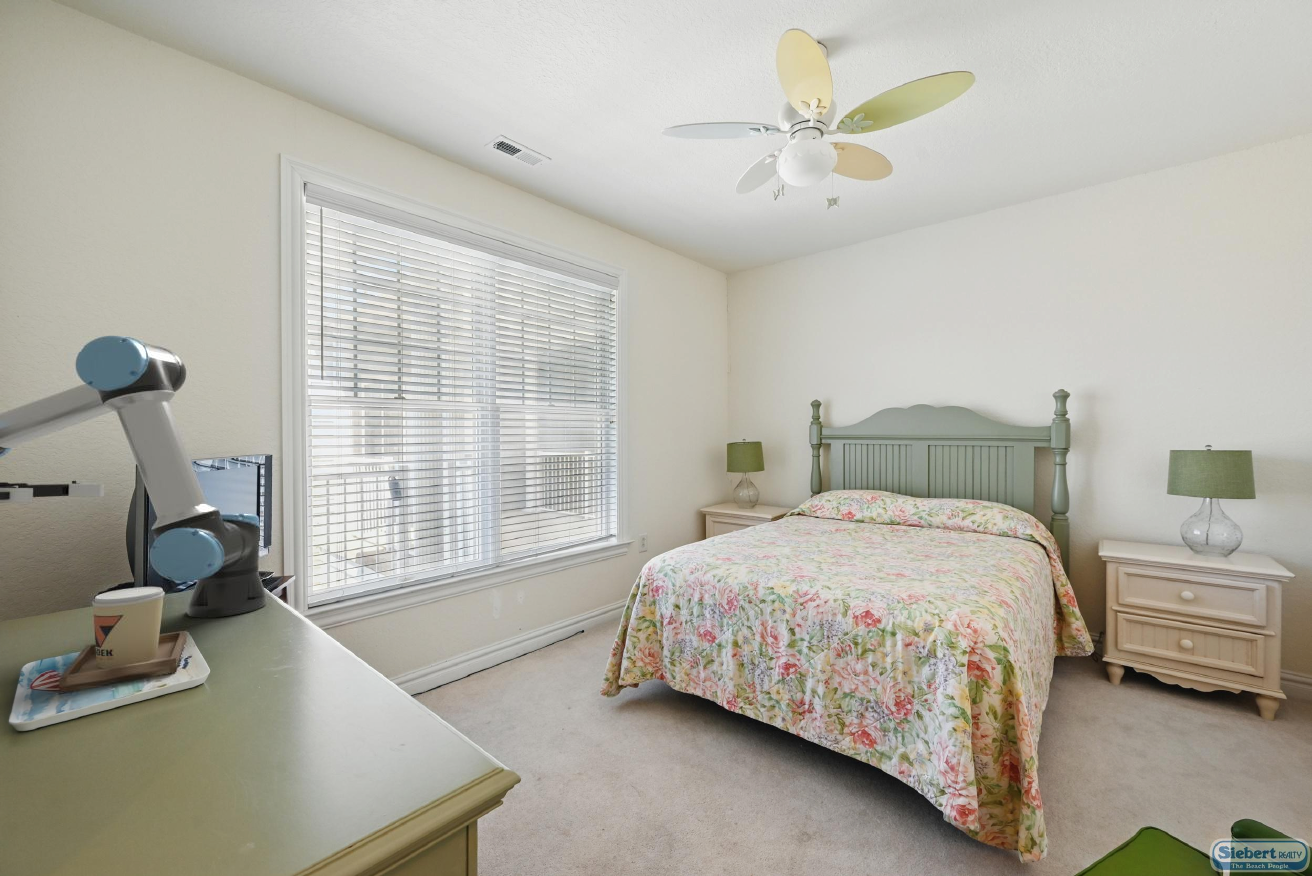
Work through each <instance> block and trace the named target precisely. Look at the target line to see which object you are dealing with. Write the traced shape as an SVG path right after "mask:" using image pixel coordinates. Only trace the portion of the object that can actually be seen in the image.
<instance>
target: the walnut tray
mask: <svg viewBox="0 0 1312 876" xmlns="http://www.w3.org/2000/svg"><path fill="white" fill-rule="evenodd" d="M185 642H186V643H187V630H181V631H175V632H167V633H161V634H160V633H159V642H158V650H157V655H156V657H154V658H153V659H151V660H149V661H146V662H142V663H136V664H130V665H124V666H118V667H112V668H106V669H104V668H99V667H98V666H97V658H96V643H92V644H86V645H85V647H84V648H83V649H82V650H81V651H80V652H79V654H78V655H77V656H76V657H75V658H74V660H73V661H72V662H71V663H70V665H69V666H68V667H67V668H66V669H65V670H64V671H63V673H62V674H61V675H60V676H59V679H58V693H59V692H65V693H71V692H76V691H81V690H82V691H83V690H87V689H88V690H89V689H93V688H97V687H98V688H99V687H104V686H108V685H114V684H120V683H126V682H132V681H137V680H143V679H149V678H154V677H153V676H155V677H157V676H156V675H160V676H163V675H162V674H166V675H168V674H167V673H171V674H176V673H177V671H178V667H179V665H180V662H181V659H182V656H183V653H184V650H185V647H184V645H185ZM185 646H186V645H185ZM183 649H184V650H183ZM182 652H183V653H182ZM181 655H182V656H181ZM180 658H181V659H180ZM179 661H180V662H179ZM178 664H179V665H178ZM175 672H176V673H175ZM148 677H149V678H148ZM70 691H71V692H70Z"/></svg>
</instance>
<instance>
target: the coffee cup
mask: <svg viewBox="0 0 1312 876" xmlns="http://www.w3.org/2000/svg"><path fill="white" fill-rule="evenodd" d="M165 593H166V592H165V591H164V590H163V588H162V587H160V586H159V587H158V586H142V587H138V586H137V587H132V588H131V587H129V588H123V589H116V590H112V591H107V592H104V593H101V594H97V595H95V597H94V599H93V600H92V602H91V603H92V606H93V626H94V639H95V640H94V641H95V643H94V644H96V658H97V666H98V667H99V668H104V669H106V668H112V667H118V666H124V665H130V664H136V663H142V662H146V661H149V660H151V659H153V658H154V657H156V655H157V650H158V642H159V635H160V632H161V631H160V630H161V623H162V614H163V605H164V604H163V602H164V596H165Z"/></svg>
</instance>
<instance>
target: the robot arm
mask: <svg viewBox="0 0 1312 876" xmlns="http://www.w3.org/2000/svg"><path fill="white" fill-rule="evenodd" d="M75 370H76V374H77V376H78V377H79V378H80V380H81V381H82V382H83V384H80V385H77V386H74V387H72V388H69V389H66V390H63V391H59V392H58V393H55V394H51V395H49V396H47V397H43V398H41V399H38V400H35V401H34V400H33V401H32V402H29V403H26V404H23V405H20V406H18V407H15V408H12V409H8V410H6V411H3V412H0V458H2V457H4V456H6V455H7V454H8V453H9V452H10V451H11V449H12V448H14V447H17V446H20V445H23V444H25V443H28V442H31V441H34V440H37V439H40V438H42V437H45V436H48V435H50V434H53V433H56V432H59V431H62V430H64V429H67V428H69V427H72V426H75V425H78V424H81V423H83V422H87V421H89V420H92V419H94V418H97V417H100V416H103V415H107V414H108V413H110V412H115V413H116V414H117V416H118V419H119V421H120V424H121V426H122V429H123V432H124V434H125V436H126V440H127V442H128V445H129V447H130V450H131V453H132V455H133V458H134V460H135V463H136V465H137V468H138V471H139V474H140V475H141V479H142V481H143V483H144V486H145V489H146V492H147V494H148V497H149V499H150V503H151V504H152V507H153V509H154V512H155V515H156V517H157V519H156V521H155V522H154V523H153V525H152V527H151V531H152V534H153V537H154V542H153V543H152V546H151V548H150V550H149V560H150V564H151V566H152V567H153V568H152V569H154V570H155V572H157V573H158V574H159V575H160V576H162V577H163V578H165V579H168V580H170V581H174V582H180V583H181V582H182V583H188V582H189V583H190V582H193V581H197V582H196V584H195V587H194V589H193V591H192V593H191V597H190V599H189V601H188V603H187V612H186V613H187V616H188V617H193V618H199V619H200V618H205V619H206V618H218V617H226V616H236V615H238V614H244V613H249V612H252V611H256V610H258V609H261V608H263V607H265V606H266V605H267V593H266V589H265V587H264V585H263V582H262V580H261V577H260V574H259V566H260V565H259V564H260V563H259V562H260V559H259V558H260V532H261V531H260V530H261V526H260V517H259V516H258V515H257V514H254V513H221V511H220V510H219V508H217V507H215V506H212V505H209V504H208V502H207V500H206V498H205V495H204V491H203V490H202V486H201V484H200V481H199V479H198V476H197V473H196V471H195V467H194V465H193V463H192V460H191V458H190V455H189V453H188V450H187V447H186V445H185V442H184V439H183V437H182V434H181V433H182V432H181V431H180V428H179V426H178V423H177V420H176V417H175V415H174V413H173V410H172V407H171V405H170V401H171V400H172V399H173V398H174V396H175V393H176V392H177V391H179V390H180V389H181V388H182V387H183V385H184V384H185V381H186V378H187V369H186V366H185V363H184V362H183V361H182V359H181V358H180V357H179V356H178V355H177V354H176V353H174V352H173V351H171V350H170V349H167V348H165V347H161V346H157V345H154V344H149V343H146V342H141V341H140V340H138V339H136V338H133V337H129V336H128V337H127V336H126V337H125V336H120V335H105V336H100V337H97V338H94V339H93V340H91V341H88V342H87V343H86V344H84V346H83V348H81V350H80V351H79V352H78V353H77V356H76V359H75ZM104 496H105V484H104V483H79V482H78V483H77V480H71V483H57V484H56V483H54V484H52V483H51V484H45V483H44V484H42V483H41V484H28V483H27V482H20V483H19V482H18V483H17V482H16V483H14V482H13V483H12V482H11V483H10V482H8V481H7V482H6V481H4V482H1V481H0V504H32V503H33V501H34V500H33V498H46V497H48V498H50V497H53V498H54V497H68V498H103V497H104Z"/></svg>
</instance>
